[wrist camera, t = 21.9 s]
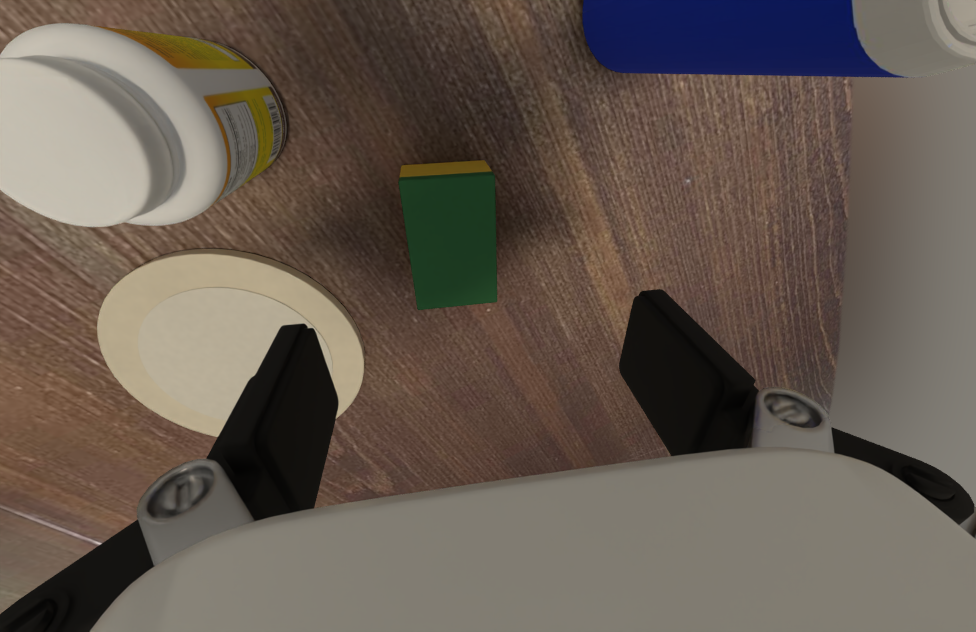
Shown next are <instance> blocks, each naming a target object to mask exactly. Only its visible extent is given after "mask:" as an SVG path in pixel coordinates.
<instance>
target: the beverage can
mask: <svg viewBox="0 0 976 632" xmlns="http://www.w3.org/2000/svg"><path fill="white" fill-rule="evenodd" d="M582 14H583V28H584V34H585V38H586V41H587V44H588V46H589V48H590V50H591V52H592V54H593V55H594V56H595V58H596V59H597V60H598V61H599V62H600V63H601V64H602V65H603V66H605V67H606V68H608V69H610V70H613V71H615V72H620V73H656V74H719V75H781V76H843V77H907V78H908V77H927V76H931V75H936V74H940V73H945V72H948V71H952V70H955V69H959V68H962V67H966V66H969V65H973V64H976V0H584V1H583V12H582Z"/></svg>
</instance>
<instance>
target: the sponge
mask: <svg viewBox="0 0 976 632" xmlns="http://www.w3.org/2000/svg"><path fill="white" fill-rule="evenodd" d="M398 183H399V189H400V196H401V203H402V209H403V216H404V223H405V229H406V236H407V243H408V249H409V256H410V262H411V269H412V276H413V282H414V289H415V296H416V302H417V309H418V310H423V309H433V308H443V307H453V306H463V305H473V304H483V303H493V302H497V258H496V200H495V175H494V173H493V172H492V170H491V169H490V167H489V166H488V165H487V163H486V162H485V161H484V160H481V161H464V162H447V163H431V164H414V165H402V166H401V171H400V176H399V182H398Z"/></svg>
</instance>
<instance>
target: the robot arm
mask: <svg viewBox="0 0 976 632" xmlns="http://www.w3.org/2000/svg"><path fill="white" fill-rule="evenodd" d="M619 369H620V373H621V375H622V377H623V379H624V380H625V382H626V383H627V385H628V387H629V388H630V390H631V391H632V393H633V395H634V396H635V398H636V400H637V401H638V403H639V404H640V406H641V408H642V409H643V411H644V412H645V414H646V416H647V417H648V419H649V420H650V422H651V424H652V425H653V427H654V428H655V430H656V432H657V433H658V435H659V437H660V438H661V440H662V441H663V443H664V445H665V446H666V448H667V449H668V451H669V453H670V454H671V456H670V457H663V458H656V459H648V460H641V461H634V462H626V463H619V464H612V465H604V466H597V467H590V468H582V469H575V470H568V471H561V472H554V473H547V474H540V475H533V476H526V477H519V478H512V479H505V480H498V481H491V482H484V483H477V484H470V485H463V486H456V487H450V488H443V489H436V490H429V491H422V492H416V493H409V494H402V495H395V496H388V497H382V498H375V499H369V500H362V501H356V502H350V503H344V504H338V505H332V506H326V507H320V508H314V506H315V502H316V498H317V494H318V490H319V485H320V481H321V477H322V473H323V469H324V465H325V461H326V457H327V453H328V448H329V444H330V440H331V436H332V432H333V428H334V424H335V420H336V416H337V411H338V406H339V401H338V395H337V392H336V390H335V387H334V384H333V381H332V378H331V375H330V372H329V369H328V366H327V363H326V361H325V358H324V355H323V352H322V349H321V346H320V343H319V340H318V337H317V334H316V332H315V330H314V328H308V327H307V325H306V324H304V323H302V324H292V325H283V326H281V327H280V329H279V331H278V333H277V335H276V337H275V338H274V340H273V342H272V344H271V346H270V348H269V350H268V352H267V354H266V355H265V357H264V359H263V361H262V363H261V365H260V367H259V369H258V371H257V372H256V374H255V376H253V377H251V378H250V380H249V381H248V383H247V384H246V386H245V388H244V390H243V392H242V394H241V395H240V397H239V399H238V401H237V403H236V405H235V407H234V408H233V410H232V412H231V414H230V416H229V418H228V420H227V421H226V423H225V425H224V427H223V429H222V431H221V432H220V434H219V436H218V438H217V440H216V442H215V444H214V445H213V447H212V449H211V451H210V453H209V455H208V456H207V458H206V459H196V460H192V461H189V462H185V463H183V464H181V465H179V466H177V467H174V468H172V469H171V470H169V471H168V472H166V473H165V474H163V475H162V476H160V477H159V478H158V479H157V480H156V481H155V482H154V483H153V484H152V485H150V486H149V487H148V489H147V490H146V492H145V493H144V494H143V496H142V497H141V499H140V501H139V504H138V507H137V518H138V520H136V521H135V522H133V523H132V524H131V525H129V526H128V527H126V528H125V529H123V530H122V531H120V532H119V533H117V534H116V535H114V536H113V537H111V538H110V539H108V540H107V541H105V542H104V543H102V544H101V545H99V546H98V547H96V548H95V549H93V550H92V551H90V552H89V553H87V554H86V555H84V556H83V557H82V558H80V559H79V560H77V561H76V562H74V563H73V564H71V565H70V566H68V567H67V568H65V569H64V570H62V571H61V572H59V573H58V574H56V575H55V576H53V577H52V578H50V579H49V580H47V581H46V582H44V583H43V584H41V585H40V586H38V587H37V588H36V589H34V590H33V591H31V592H30V593H28V594H27V595H25V596H24V597H22V598H21V599H19V600H18V601H17V602H15V603H14V604H13V605H11V606H10V607H9V608H8V609H6V610H5V611H4V612H2V613H1V614H0V632H976V507H974V503H973V501H972V499H971V497H970V496H969V494H968V493H967V492H966V491H965V490H964V489H963V488H962V486H961V485H960V484H958V483H957V482H956V481H955V480H953V479H952V478H951V477H950V476H948V475H947V474H945V473H943V472H942V471H940V470H939V469H937V468H935V467H933V466H931V465H929V464H927V463H924V462H922V461H920V460H917V459H915V458H912V457H909V456H907V455H904V454H901V453H899V452H896V451H893V450H891V449H888V448H885V447H883V446H880V445H877V444H875V443H872V442H869V441H867V440H864V439H861V438H859V437H856V436H853V435H851V434H848V433H845V432H843V431H840V430H837V429H834V428H832V427H831V422H830V419H829V416H828V414H827V413H826V412H825V410H824V409H823V408H822V407H821V406H820V405H819V404H817V403H816V402H815V401H814V400H812V399H811V398H809V397H807V396H805V395H803V394H801V393H799V392H796V391H794V390H791V389H786V388H782V387H768V388H763V389H762V390H760V391H759V390H758V389H757V388H756V387H755V386H754V383H755V381H756V380H755V379H754V378H753V377H752V376H751V375H750V374H749V373H748V372H747V371H746V370H745V369H744V368H743V367H742V366H740V365H739V364H738V363H737V362H736V361H735V360H734V359H733V358H732V357H731V356H730V355H729V354H728V353H727V352H726V351H725V350H724V349H723V348H722V347H721V346H720V345H719V344H718V343H717V342H716V341H715V340H714V339H713V338H712V337H711V336H710V335H709V334H708V333H707V332H706V331H705V330H704V329H703V328H701V327H700V326H699V325H698V324H697V323H696V322H695V321H694V320H693V319H692V318H691V317H690V316H689V315H688V314H687V313H686V312H685V311H684V310H683V309H682V308H681V307H680V306H679V305H678V304H677V303H676V302H675V301H674V300H673V299H672V298H671V297H670V296H669V295H668V294H667V293H666V292H665V291H663V290H660V289H659V290H648V291H642V292H640V294H639V296H636V297H635V298H634V300H633V304H632V309H631V313H630V318H629V322H628V327H627V331H626V336H625V340H624V345H623V349H622V354H621V358H620V363H619Z"/></svg>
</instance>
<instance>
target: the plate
mask: <svg viewBox="0 0 976 632" xmlns="http://www.w3.org/2000/svg"><path fill="white" fill-rule="evenodd" d="M302 323H304V324H306V325H307V327H308V328H314V330H315V332H316V334H317V337H318V340H319V343H320V346H321V349H322V352H323V355H324V358H325V361H326V363H327V366H328V369H329V372H330V375H331V378H332V381H333V384H334V387H335V390H336V392H337V395H338V401H339V406H338V411H337V416H336V418H338V417H339V416H340V415H341V414H342V413H343V412H344V411H345V410H346V409H347V408H348V407H349V406H350V404H351V403H352V402H353V401H354V399H355V397H356V395H357V394H358V392H359V389H360V387H361V384H362V380H363V375H364V369H365V350H364V344H363V341H362V338H361V335H360V332H359V330H358V328H357V326H356V324H355V322H354V320H353V319H352V317H351V316H350V314H349V313H348V312H347V310H346V309H345V307H344V306H343V305H342V304H341V303H340V302H339V301H338V300H337V299H336V298H335V297H334V296H333V295H332V294H331V293H330V292H329V291H327V290H326V289H325V288H324V287H323V286H322V285H320V284H319V283H317V282H316V281H314V280H313V279H311V278H310V277H308V276H307V275H305V274H303V273H301V272H299V271H298V270H296V269H294V268H292V267H290V266H287V265H285V264H283V263H280V262H278V261H275V260H273V259H269V258H266V257H263V256H259V255H256V254H251V253H246V252H241V251H236V250H226V249H192V250H185V251H178V252H174V253H170V254H167V255H163V256H160V257H157V258H155V259H153V260H150V261H148V262H146V263H144V264H142V265H141V266H139V267H138V268H136V269H135V270H133V271H132V272H130V273H129V274H127V275H126V276H124V277H123V278H122V279H121V280H120V281H119V282H118V283H117V284H116V285H115V286H114V287H113V288H112V289H111V291H110V292H109V293H108V295H107V296H106V298H105V299H104V302H103V304H102V307H101V309H100V312H99V317H98V323H97V331H98V341H99V345H100V349H101V352H102V355H103V357H104V359H105V361H106V364H107V365H108V367H109V369H110V370H111V372H112V373H113V375H114V376H115V378H116V379H117V380H118V381H119V382H120V383H121V385H122V386H123V387H124V388H125V389H126V390H127V391H128V392H129V393H130V394H131V395H132V396H133V397H134V398H136V399H137V400H138V401H140V402H141V403H142V404H143V405H145V406H146V407H147V408H149V409H151V410H152V411H154V412H155V413H157V414H159V415H160V416H162V417H164V418H166V419H168V420H170V421H172V422H174V423H176V424H178V425H181V426H183V427H186V428H188V429H191V430H194V431H197V432H200V433H204V434H207V435H212V436H216V437H218V436H219V434H220V432H221V431H222V429H223V427H224V425H225V423H226V421H227V420H228V418H229V416H230V414H231V412H232V410H233V408H234V407H235V405H236V403H237V401H238V399H239V397H240V395H241V394H242V392H243V390H244V388H245V386H246V384H247V383H248V381H249V380H250V378H251V377H253V376H255V374H256V372H257V371H258V369H259V367H260V365H261V363H262V361H263V359H264V357H265V355H266V354H267V352H268V350H269V348H270V346H271V344H272V342H273V340H274V338H275V337H276V335H277V333H278V331H279V329H280V327H281V326H283V325H292V324H302Z"/></svg>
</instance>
